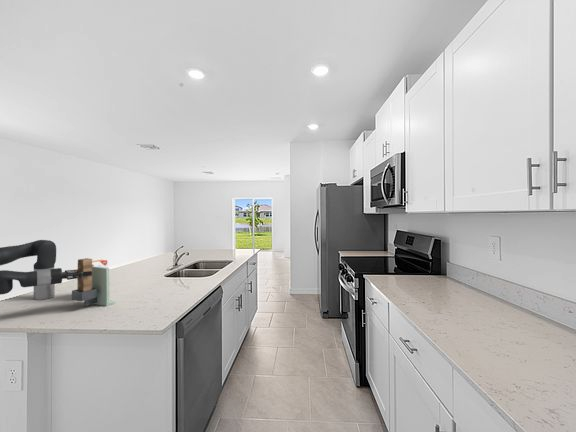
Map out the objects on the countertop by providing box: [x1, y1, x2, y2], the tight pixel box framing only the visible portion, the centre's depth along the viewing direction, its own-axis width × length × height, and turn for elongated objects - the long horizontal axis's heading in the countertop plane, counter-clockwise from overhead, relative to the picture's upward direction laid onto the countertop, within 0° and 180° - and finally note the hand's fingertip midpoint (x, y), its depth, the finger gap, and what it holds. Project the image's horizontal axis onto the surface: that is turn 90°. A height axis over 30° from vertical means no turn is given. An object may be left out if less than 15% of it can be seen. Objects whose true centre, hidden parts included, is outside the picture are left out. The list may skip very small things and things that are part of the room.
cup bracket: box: [71, 266, 117, 307], centre depth 155 cm, size 16×15×20 cm
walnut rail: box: [77, 258, 93, 292], centre depth 152 cm, size 4×4×18 cm
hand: (90, 272), depth 153 cm, fingers closed on walnut rail, 5 cm apart
